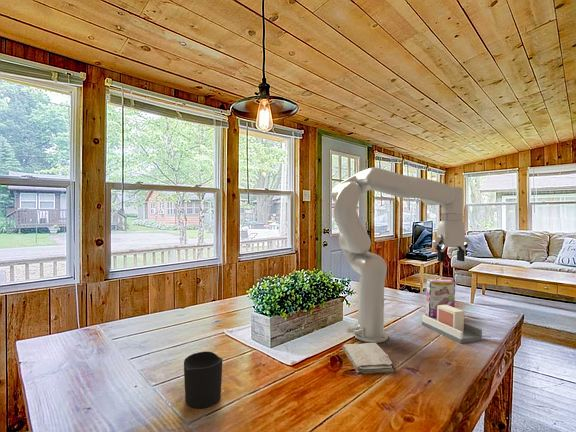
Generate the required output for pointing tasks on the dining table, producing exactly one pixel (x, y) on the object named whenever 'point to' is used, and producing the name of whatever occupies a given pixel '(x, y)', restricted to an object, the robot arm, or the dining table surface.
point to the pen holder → (202, 379)
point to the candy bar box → (439, 295)
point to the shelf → (453, 330)
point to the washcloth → (368, 358)
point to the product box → (451, 316)
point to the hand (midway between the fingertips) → (450, 261)
